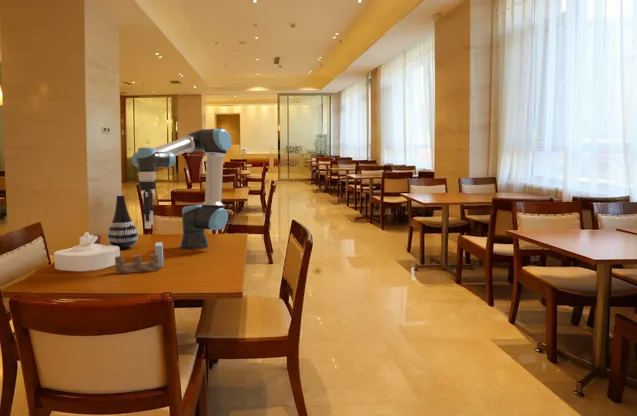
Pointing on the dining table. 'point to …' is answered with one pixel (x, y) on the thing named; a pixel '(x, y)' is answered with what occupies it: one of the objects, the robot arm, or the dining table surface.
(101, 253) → the tissue box
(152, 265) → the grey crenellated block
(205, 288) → the dining table surface
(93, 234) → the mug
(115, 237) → the vase
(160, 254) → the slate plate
